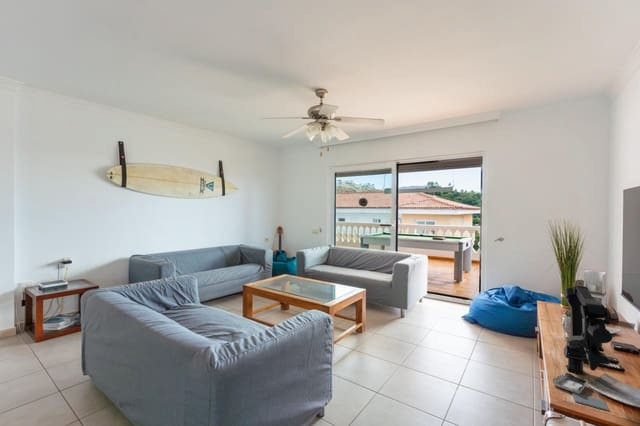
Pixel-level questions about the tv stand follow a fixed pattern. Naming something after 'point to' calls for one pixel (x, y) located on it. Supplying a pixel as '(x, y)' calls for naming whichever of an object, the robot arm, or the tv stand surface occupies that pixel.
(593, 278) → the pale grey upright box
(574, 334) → the robot arm
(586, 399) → the mat
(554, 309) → the tv stand surface
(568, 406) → the tv stand surface
